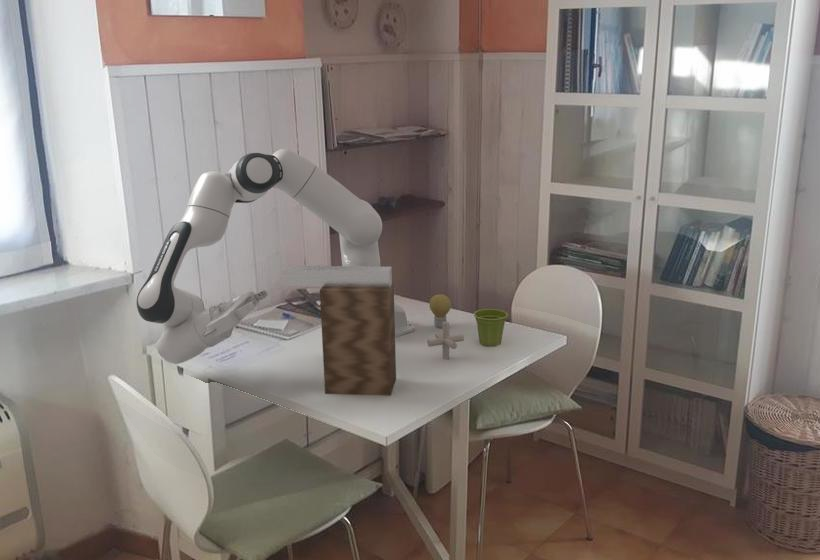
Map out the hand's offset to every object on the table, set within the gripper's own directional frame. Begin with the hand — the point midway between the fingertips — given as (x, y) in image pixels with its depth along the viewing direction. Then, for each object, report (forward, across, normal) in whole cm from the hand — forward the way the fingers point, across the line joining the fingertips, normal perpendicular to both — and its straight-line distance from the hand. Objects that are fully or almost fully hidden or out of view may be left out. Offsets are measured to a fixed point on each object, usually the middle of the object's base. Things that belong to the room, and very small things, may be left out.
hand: (260, 298), depth 188 cm
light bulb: (+23, +46, +40) cm, 65 cm away
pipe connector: (+26, +20, +41) cm, 53 cm away
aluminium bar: (+18, 0, +6) cm, 19 cm away
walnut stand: (+10, 0, +31) cm, 33 cm away
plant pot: (+36, +33, +47) cm, 68 cm away
